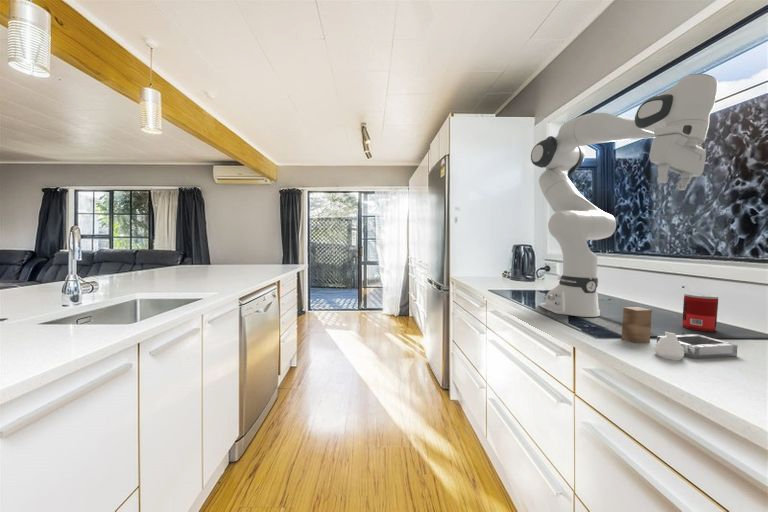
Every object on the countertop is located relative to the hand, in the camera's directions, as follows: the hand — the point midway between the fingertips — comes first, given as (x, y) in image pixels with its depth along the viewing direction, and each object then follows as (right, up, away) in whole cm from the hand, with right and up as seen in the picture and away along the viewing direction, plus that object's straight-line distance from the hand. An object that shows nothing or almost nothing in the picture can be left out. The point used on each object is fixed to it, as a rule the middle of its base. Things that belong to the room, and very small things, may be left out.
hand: (671, 186), depth 92 cm
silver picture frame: (-1, -44, -8) cm, 45 cm away
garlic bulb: (-11, -44, -12) cm, 47 cm away
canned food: (+22, -43, +15) cm, 50 cm away
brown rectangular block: (-10, -43, +1) cm, 44 cm away
